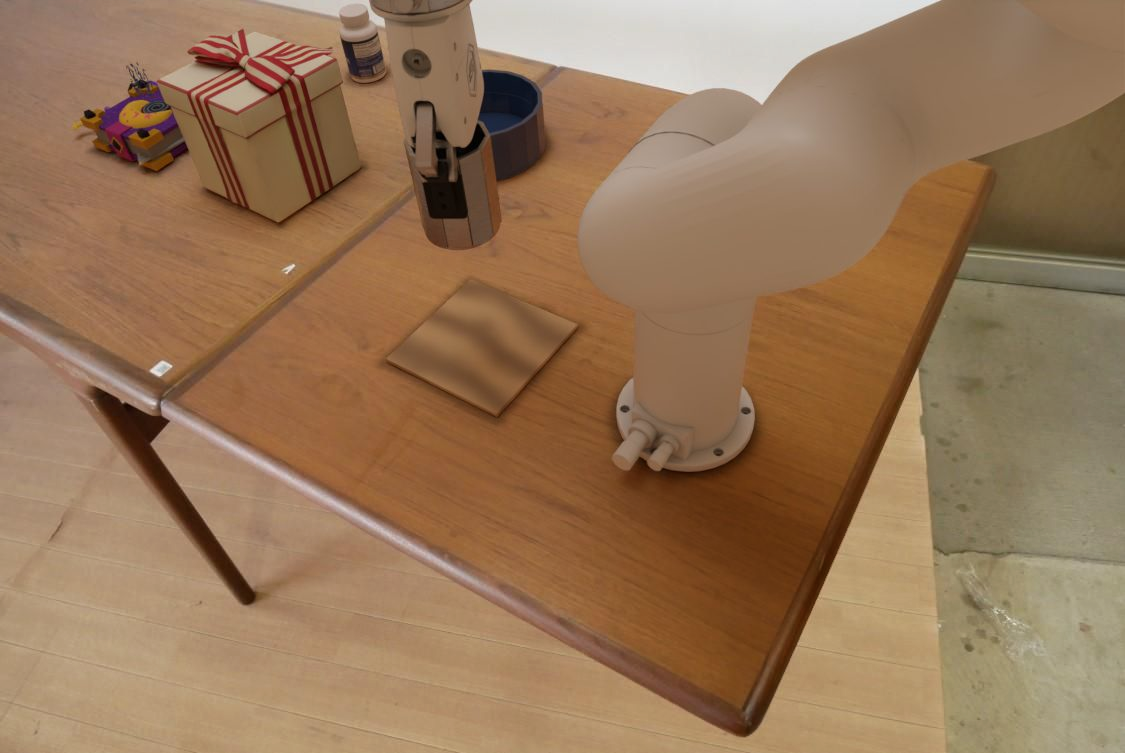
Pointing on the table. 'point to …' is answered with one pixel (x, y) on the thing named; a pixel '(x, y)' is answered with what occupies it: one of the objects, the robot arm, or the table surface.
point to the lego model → (137, 126)
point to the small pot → (478, 191)
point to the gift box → (263, 121)
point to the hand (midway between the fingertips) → (456, 187)
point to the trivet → (482, 346)
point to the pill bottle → (361, 44)
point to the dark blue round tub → (512, 121)
